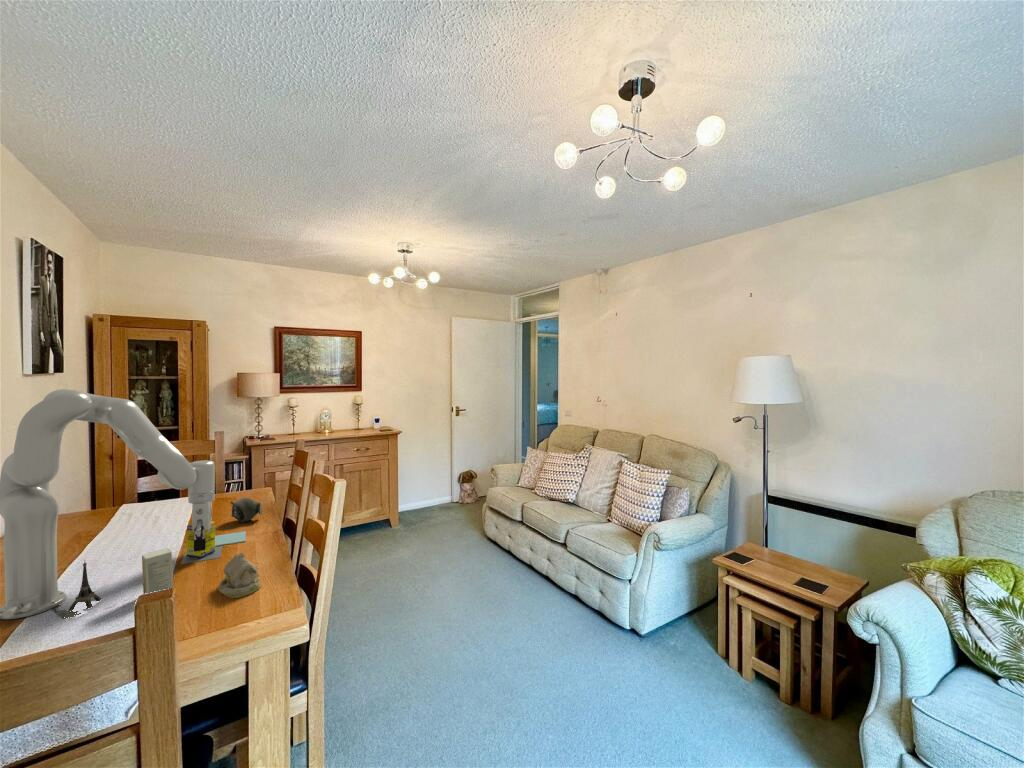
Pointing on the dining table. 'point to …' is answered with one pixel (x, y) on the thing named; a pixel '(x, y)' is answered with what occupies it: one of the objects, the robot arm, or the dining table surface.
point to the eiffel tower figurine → (79, 597)
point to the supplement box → (209, 542)
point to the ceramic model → (239, 578)
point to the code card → (210, 556)
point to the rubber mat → (230, 538)
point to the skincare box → (157, 571)
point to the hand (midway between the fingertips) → (201, 545)
